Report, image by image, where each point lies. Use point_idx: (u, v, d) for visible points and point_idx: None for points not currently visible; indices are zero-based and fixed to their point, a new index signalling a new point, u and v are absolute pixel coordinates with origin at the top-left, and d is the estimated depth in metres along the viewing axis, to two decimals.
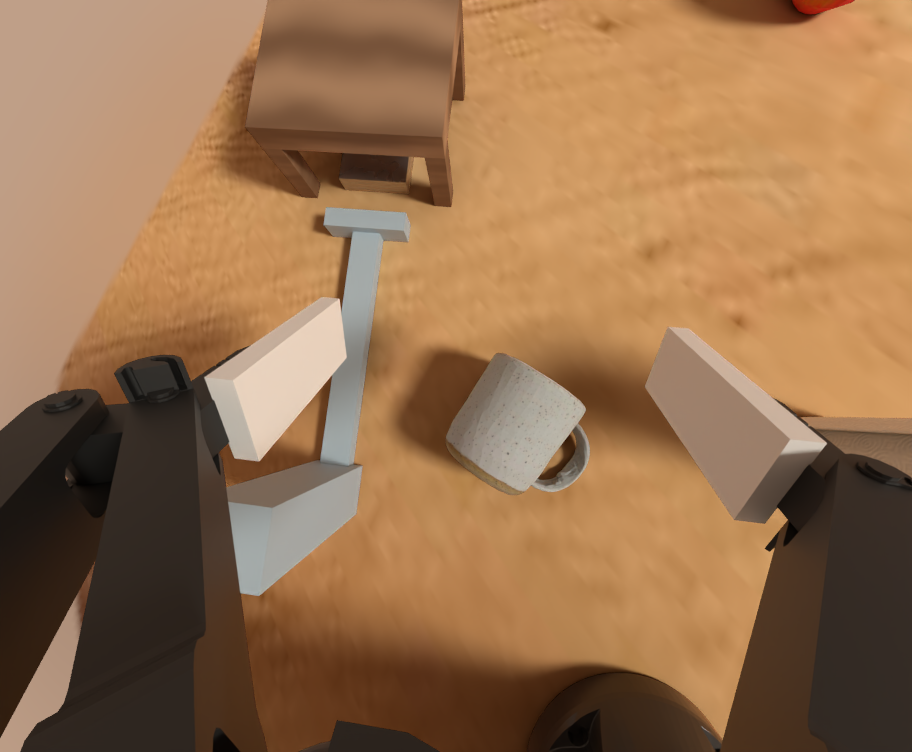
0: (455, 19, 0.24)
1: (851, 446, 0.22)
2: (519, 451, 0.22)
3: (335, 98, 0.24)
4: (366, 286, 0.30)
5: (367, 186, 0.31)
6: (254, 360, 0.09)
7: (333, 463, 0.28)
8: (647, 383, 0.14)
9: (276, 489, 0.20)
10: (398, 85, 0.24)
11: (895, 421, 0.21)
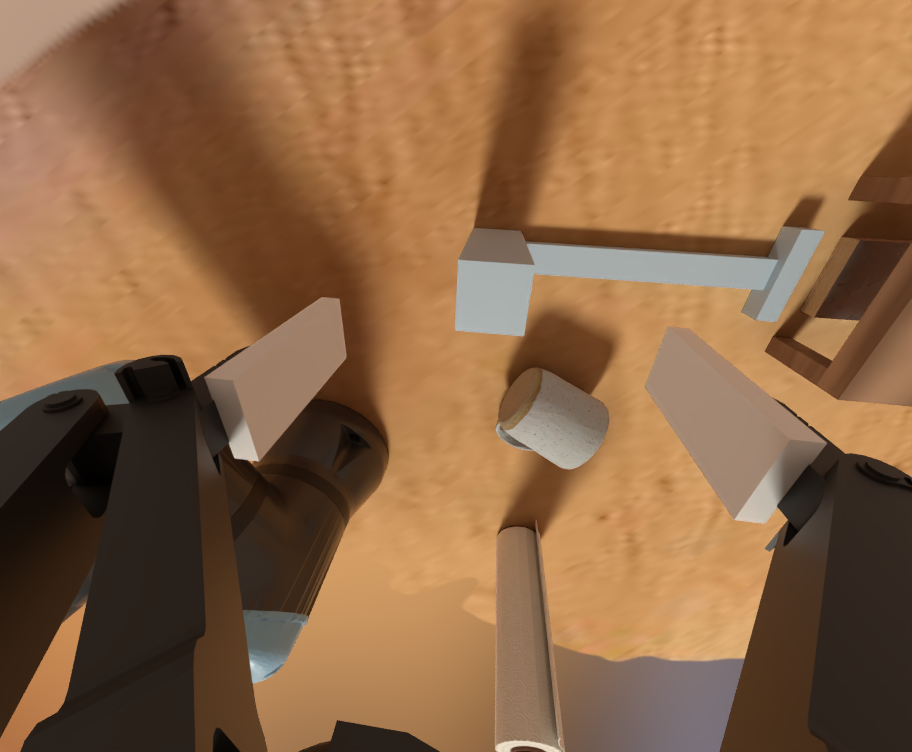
0: None
1: (529, 562, 0.43)
2: (535, 440, 0.31)
3: None
4: (704, 279, 0.28)
5: (831, 269, 0.28)
6: (254, 360, 0.09)
7: None
8: (647, 383, 0.14)
9: None
10: None
11: (544, 582, 0.42)
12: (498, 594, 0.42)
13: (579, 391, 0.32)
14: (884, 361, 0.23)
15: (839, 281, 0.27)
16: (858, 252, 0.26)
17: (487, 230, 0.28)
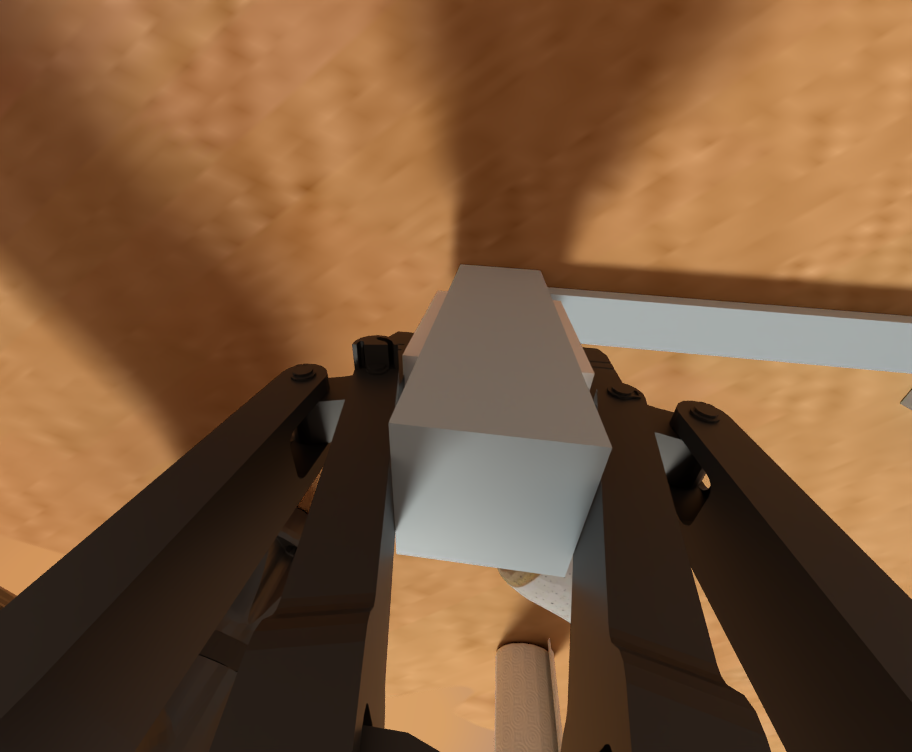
0: None
1: (540, 709, 0.31)
2: (553, 608, 0.20)
3: None
4: (857, 358, 0.16)
5: None
6: None
7: None
8: None
9: None
10: None
11: None
12: None
13: None
14: None
15: None
16: None
17: (483, 271, 0.16)
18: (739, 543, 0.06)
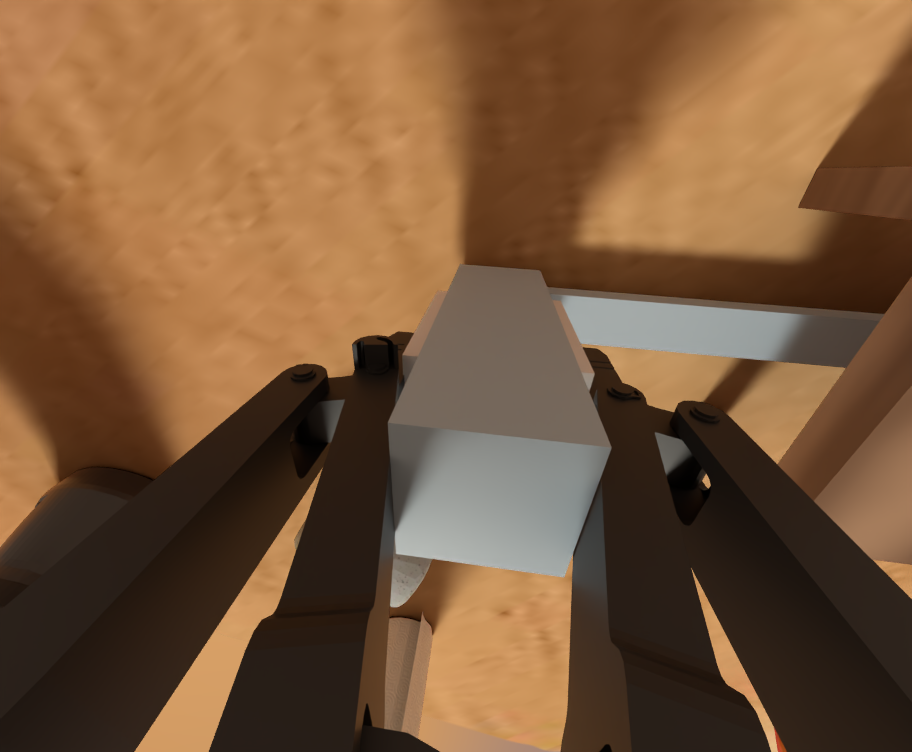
0: None
1: (402, 677, 0.33)
2: None
3: None
4: None
5: None
6: None
7: None
8: None
9: None
10: None
11: (416, 708, 0.32)
12: None
13: None
14: (850, 498, 0.13)
15: None
16: None
17: (482, 271, 0.16)
18: (739, 543, 0.06)
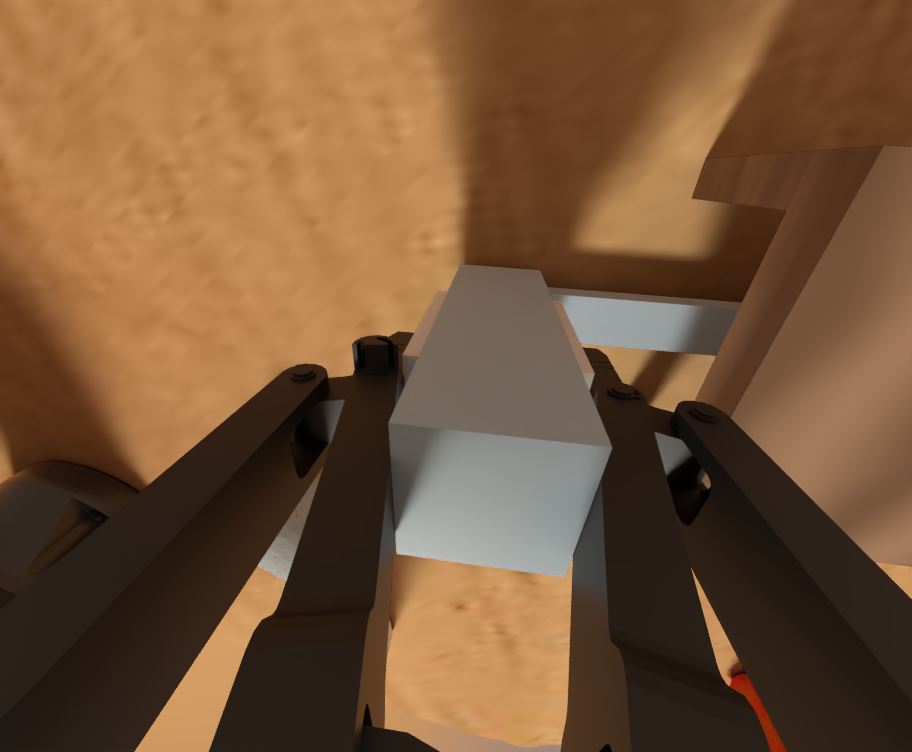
0: (889, 562, 0.14)
1: None
2: None
3: (835, 389, 0.11)
4: None
5: None
6: None
7: None
8: None
9: None
10: None
11: None
12: None
13: None
14: None
15: None
16: None
17: (483, 271, 0.16)
18: (739, 543, 0.06)
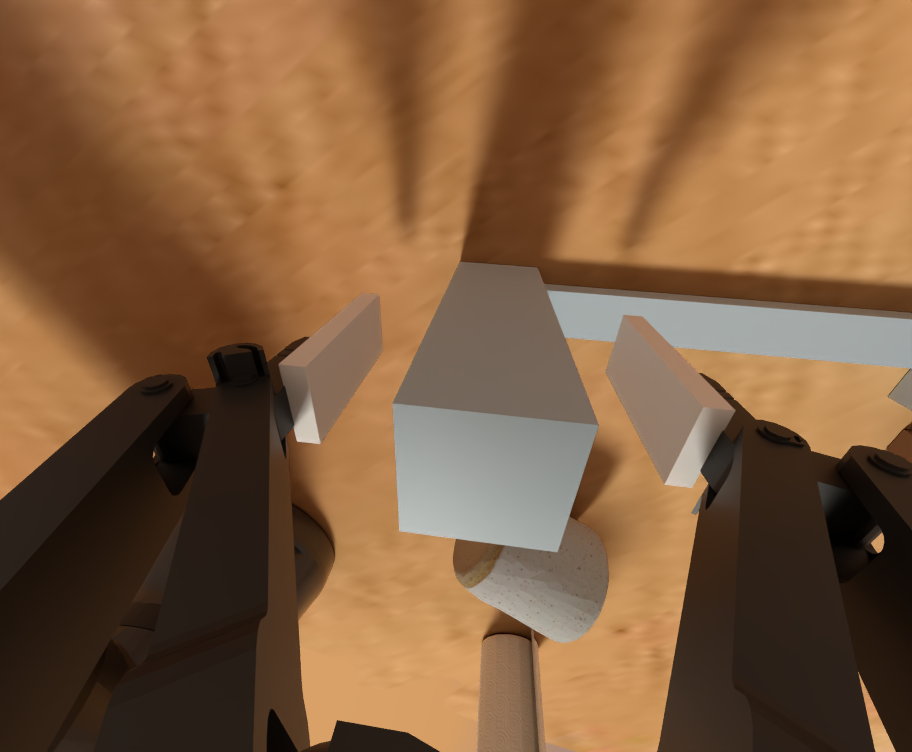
0: None
1: (522, 697, 0.32)
2: (501, 607, 0.21)
3: None
4: (844, 352, 0.17)
5: None
6: (319, 349, 0.10)
7: None
8: (607, 368, 0.15)
9: None
10: None
11: (542, 730, 0.31)
12: (479, 747, 0.30)
13: (566, 530, 0.22)
14: None
15: None
16: None
17: (482, 268, 0.17)
18: None
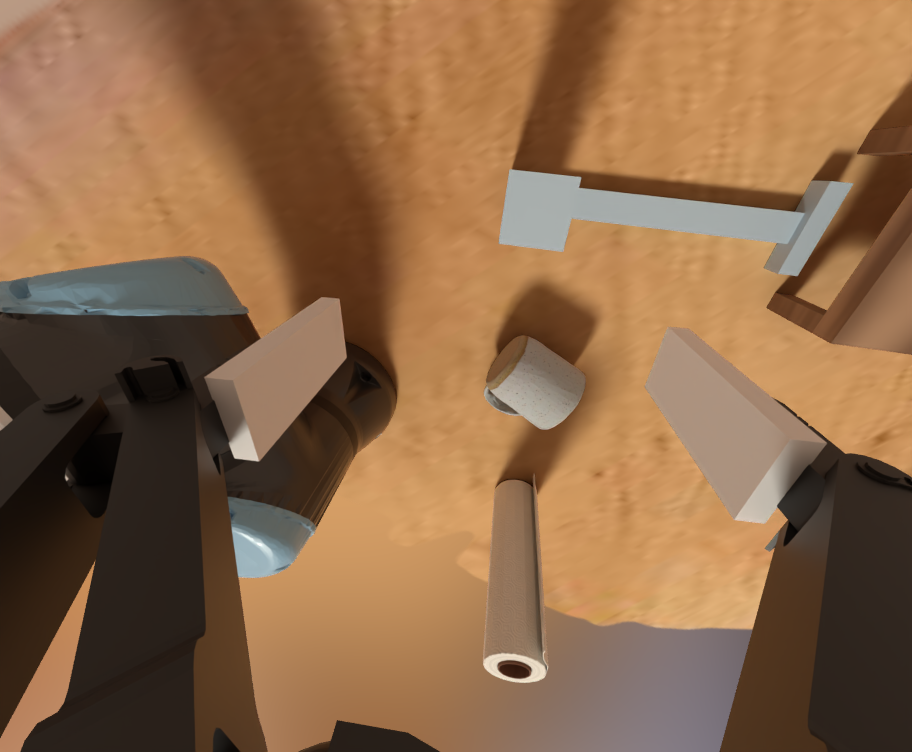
0: None
1: (525, 510, 0.45)
2: (517, 399, 0.34)
3: None
4: (731, 230, 0.29)
5: None
6: (255, 360, 0.09)
7: None
8: (647, 383, 0.14)
9: None
10: None
11: (538, 528, 0.44)
12: (493, 536, 0.44)
13: (560, 358, 0.35)
14: (877, 304, 0.25)
15: None
16: None
17: None
18: None
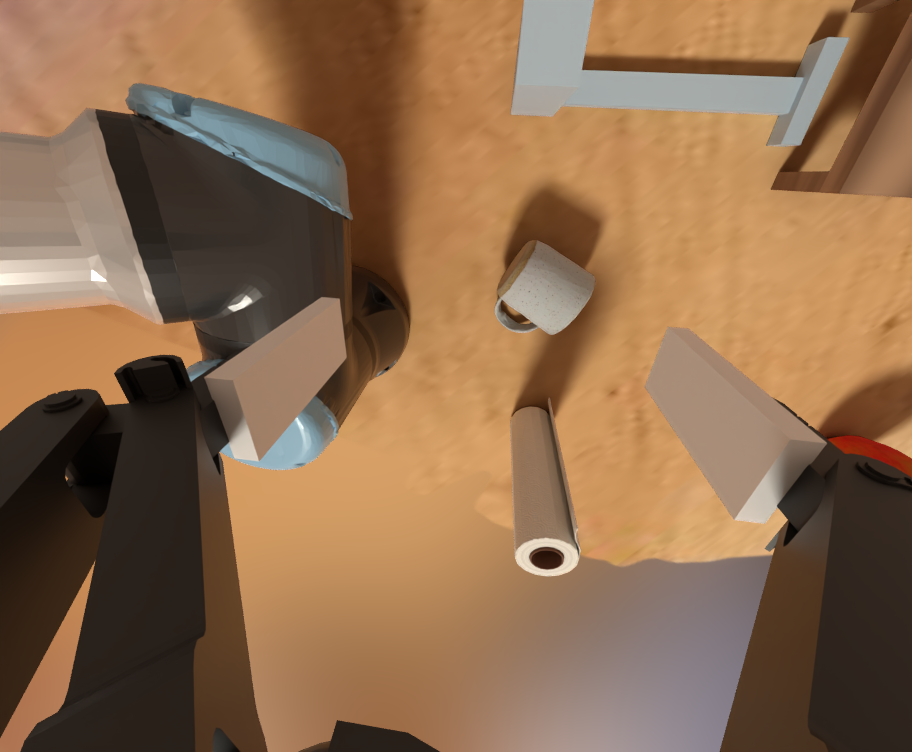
0: None
1: (543, 429, 0.45)
2: (530, 298, 0.35)
3: None
4: (733, 103, 0.30)
5: None
6: (254, 360, 0.09)
7: None
8: (647, 383, 0.14)
9: None
10: None
11: None
12: (514, 454, 0.44)
13: (569, 259, 0.36)
14: (882, 144, 0.25)
15: None
16: None
17: None
18: None
